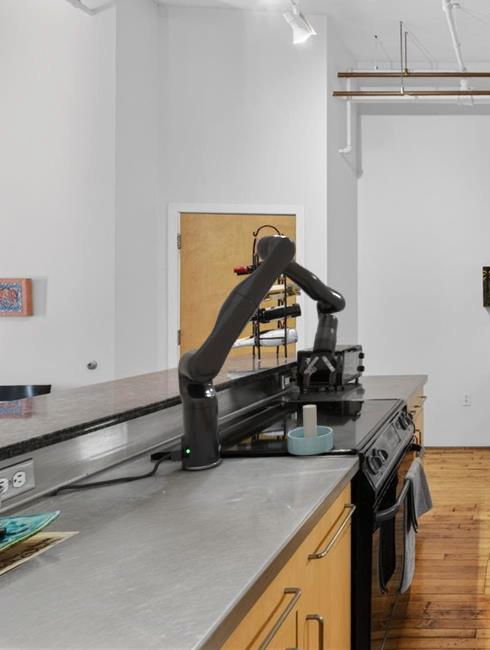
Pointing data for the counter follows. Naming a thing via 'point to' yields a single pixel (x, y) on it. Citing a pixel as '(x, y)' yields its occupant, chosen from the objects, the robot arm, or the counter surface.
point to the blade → (309, 421)
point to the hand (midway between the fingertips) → (318, 384)
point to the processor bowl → (310, 441)
